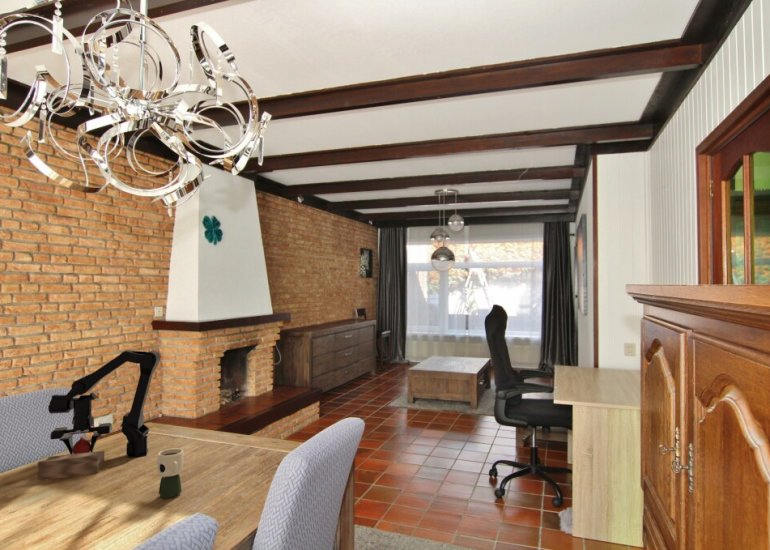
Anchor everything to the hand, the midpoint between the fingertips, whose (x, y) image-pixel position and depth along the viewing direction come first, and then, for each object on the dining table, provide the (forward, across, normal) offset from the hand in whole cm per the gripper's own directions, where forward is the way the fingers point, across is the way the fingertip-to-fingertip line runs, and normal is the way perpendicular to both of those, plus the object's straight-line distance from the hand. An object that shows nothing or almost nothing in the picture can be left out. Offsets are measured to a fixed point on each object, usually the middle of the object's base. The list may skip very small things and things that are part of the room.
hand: (81, 454), depth 174 cm
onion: (+2, 0, 0) cm, 2 cm away
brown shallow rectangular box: (+2, 0, +13) cm, 13 cm away
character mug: (+2, -33, +48) cm, 58 cm away
